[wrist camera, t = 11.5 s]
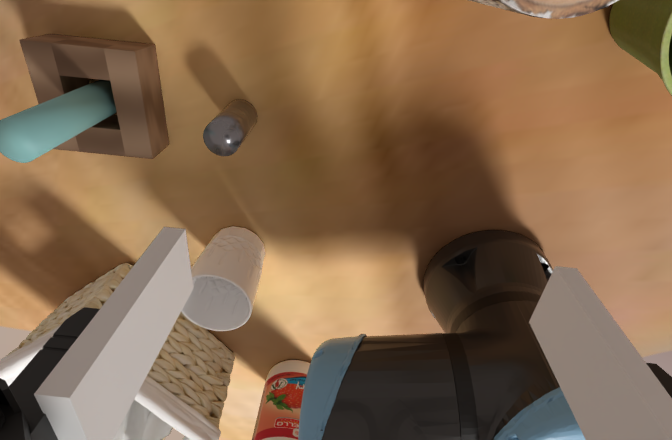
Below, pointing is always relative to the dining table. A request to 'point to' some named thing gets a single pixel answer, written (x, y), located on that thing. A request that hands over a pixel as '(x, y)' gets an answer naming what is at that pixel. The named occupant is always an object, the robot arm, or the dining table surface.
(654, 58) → the plant pot
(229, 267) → the white cup
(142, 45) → the hole block
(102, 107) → the long pin
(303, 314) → the dining table surface
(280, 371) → the fruit juice
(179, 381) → the storage basket
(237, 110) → the short pin
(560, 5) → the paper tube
